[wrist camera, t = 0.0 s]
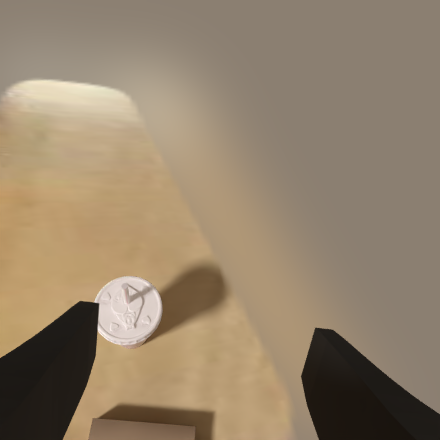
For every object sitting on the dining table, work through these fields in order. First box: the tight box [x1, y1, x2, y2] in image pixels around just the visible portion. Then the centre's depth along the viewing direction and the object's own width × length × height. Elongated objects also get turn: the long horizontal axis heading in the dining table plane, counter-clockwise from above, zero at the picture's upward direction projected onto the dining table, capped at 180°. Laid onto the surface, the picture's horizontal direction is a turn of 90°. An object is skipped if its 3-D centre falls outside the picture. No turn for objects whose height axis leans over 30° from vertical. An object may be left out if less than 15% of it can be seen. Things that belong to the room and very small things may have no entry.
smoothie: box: [94, 276, 163, 349], centre depth 37 cm, size 6×6×14 cm
